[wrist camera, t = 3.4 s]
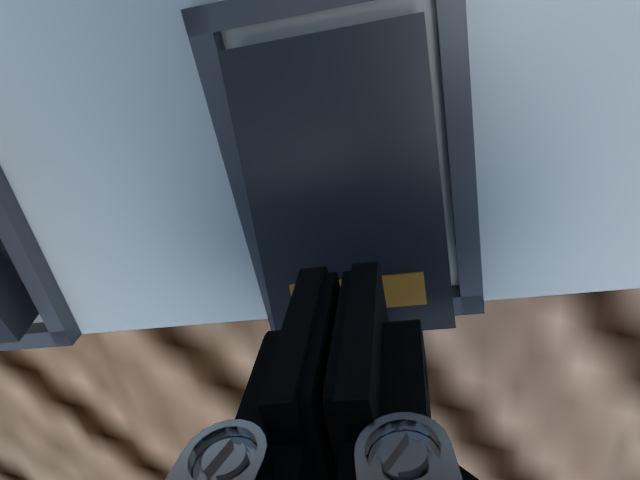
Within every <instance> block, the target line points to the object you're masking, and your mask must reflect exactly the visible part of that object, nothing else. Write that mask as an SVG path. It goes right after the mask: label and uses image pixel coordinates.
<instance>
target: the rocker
mask: <svg viewBox="0 0 640 480" xmlns="http://www.w3.org/2000/svg"><path fill="white" fill-rule="evenodd" d="M38 315H39V312H38V310H37V308H36V306H35V305H34V303H33V301H32V299H31V297H30V295H29V293H28V291H27V289H26V287H25V285H24V284H23V282H22V281H21V279H20V278H19V277H18V275H17V274H16V273H15V271H14V270H13V269H12V267H11V266H10V264H9V263H8V262H7V260H6V259H5V258H4V256H3V255H2V253H1V252H0V343H11V342H19V341H20V340H21V339H22V337H23V336H24V334H25V333H26V331H27V330H28V329H29V327H30V326H31V324H32V323H33V322H34V320H35V319H36V317H37V316H38Z"/></svg>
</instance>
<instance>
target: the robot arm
mask: <svg viewBox="0 0 640 480" xmlns="http://www.w3.org/2000/svg"><path fill="white" fill-rule="evenodd" d="M165 480H479V479H477V478H476V477H474V476H473V475H472V474H470V473H469V472H468V471H466V470H465V469H463V468H462V467H461V466H459V465H458V463H457V459H456V456H455V453H454V450H453V446H452V443H451V440H450V438H449V437H448V435H447V433H446V431H445V429H444V428H442V427H441V426H440V425H439V424H438V423H437V422H436V421H435V420H433V419H431V411H430V398H429V386H428V375H427V365H426V356H425V348H424V340H423V332H422V325H421V319H416V320H403V321H390V322H389V319H388V313H387V306H386V300H385V294H384V288H383V281H382V275H381V269H380V264H379V261H372V262H362V263H353V264H352V269H351V270H350V271H343V275H342V281H341V287H340V283H339V278H338V274H337V272H329V271H328V269H327V267H326V266H322V267H313V268H303V269H300V271H299V274H298V277H297V280H296V283H295V286H294V289H293V293H292V296H291V299H290V302H289V305H288V309H287V312H286V315H285V318H284V321H283V324H282V328H281V330H274V331H268V332H267V333H266V334H265V336H264V339H263V341H262V344H261V347H260V350H259V353H258V356H257V358H256V361H255V364H254V367H253V370H252V373H251V375H250V378H249V381H248V384H247V387H246V390H245V392H244V395H243V398H242V401H241V404H240V407H239V409H238V412H237V415H236V418H235V420H226V421H222V422H219V423H215V424H213V425H211V426H209V427H208V428H206V429H204V430H202V431H201V432H200V433H198V434H197V435H196V436H195V437H194V438H192V439H191V441H190V442H189V443H188V444H187V446H186V447H185V448H184V449H183V451H182V453H181V454H180V456H179V458H178V459H177V461H176V463H175V464H174V466H173V468H172V469H171V471H170V473H169V474H168V476H167V478H166V479H165Z"/></svg>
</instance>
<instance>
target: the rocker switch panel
mask: <svg viewBox="0 0 640 480" xmlns="http://www.w3.org/2000/svg"><path fill="white" fill-rule="evenodd" d="M419 12H424V14H425V24H426V34H427V44H428V54H429V64H430V74H431V84H432V94H433V104H434V114H435V124H436V134H437V144H438V155H439V165H440V175H441V185H442V195H443V205H444V215H445V225H446V235H447V245H448V255H449V265H450V275H451V285H452V295H453V305H454V315H455V316H456V315H469V314H482V313H484V301H488V300H500V299H512V298H524V297H536V296H548V295H560V294H573V293H585V292H597V291H609V290H621V289H633V288H640V0H0V252H1V253H2V255H3V256H4V258H5V259H6V260H7V262H8V263H9V264H10V266H11V267H12V269H13V270H14V271H15V273H16V274H17V275H18V277H19V278H20V279H21V281H22V282H23V284H24V285H25V287H26V289H27V291H28V293H29V295H30V297H31V299H32V301H33V303H34V305H35V306H36V308H37V310H38V312H39V315H38V316H37V317H36V319H35V320H34V322H33V323H32V324H31V326H30V327H29V329H28V330H27V331H26V333H25V334H24V336H23V337H22V339H21V340H20V341H19V342H11V343H0V351H6V350H19V349H32V348H45V347H58V346H70V345H73V344H74V343H75V342H76V340H77V339H78V338H79V337H80V336H81V334H87V333H99V332H111V331H124V330H136V329H148V328H160V327H172V326H184V325H196V324H209V323H221V322H233V321H245V320H257V319H268V320H269V324H270V328H271V330H275V327H274V322H273V317H272V313H271V308H270V303H269V298H268V293H267V289H266V284H265V279H264V274H263V269H262V264H261V260H260V255H259V250H258V245H257V240H256V236H255V231H254V226H253V221H252V216H251V211H250V207H249V202H248V197H247V192H246V187H245V183H244V178H243V173H242V168H241V163H240V158H239V154H238V149H237V144H236V139H235V134H234V130H233V125H232V120H231V115H230V110H229V105H228V101H227V96H226V91H225V86H224V81H223V77H222V72H221V67H220V62H219V57H218V52H217V51H221V50H226V49H232V48H237V47H242V46H247V45H252V44H258V43H263V42H268V41H273V40H278V39H284V38H289V37H294V36H299V35H304V34H310V33H315V32H320V31H325V30H331V29H336V28H341V27H346V26H351V25H357V24H362V23H367V22H372V21H377V20H383V19H388V18H393V17H398V16H404V15H409V14H414V13H419Z"/></svg>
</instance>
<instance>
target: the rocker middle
mask: <svg viewBox="0 0 640 480" xmlns="http://www.w3.org/2000/svg"><path fill="white" fill-rule="evenodd" d="M217 52H218V57H219V62H220V67H221V72H222V77H223V81H224V86H225V91H226V96H227V101H228V105H229V110H230V115H231V120H232V125H233V130H234V134H235V139H236V144H237V149H238V154H239V158H240V163H241V168H242V173H243V178H244V183H245V187H246V192H247V197H248V202H249V207H250V211H251V216H252V221H253V226H254V231H255V236H256V240H257V245H258V250H259V255H260V260H261V264H262V269H263V274H264V279H265V284H266V289H267V293H268V298H269V303H270V308H271V313H272V317H273V322H274V327H275V330H281V328H282V324H283V321H284V318H285V315H286V312H287V309H288V305H289V302H290V299H291V296H292V293H293V289H294V286H295V283H296V280H297V277H298V274H299V271H300V269H303V268H313V267H322V266H326V267H327V269H328V271H329V272H337V274H338V278H339V283H340V287H341V281H342V275H343V271H350V270H351V269H352V264H353V263H362V262H372V261H379V264H380V269H381V275H382V281H383V288H384V294H385V300H386V306H387V313H388V319H389V322H390V321H403V320H416V319H421V325H422V330H434V329H448V328H456V325H455V315H454V305H453V295H452V285H451V275H450V265H449V255H448V245H447V235H446V225H445V215H444V205H443V195H442V185H441V175H440V165H439V155H438V144H437V134H436V124H435V114H434V104H433V94H432V84H431V74H430V64H429V54H428V44H427V34H426V24H425V14H424V12H419V13H414V14H409V15H404V16H398V17H393V18H388V19H383V20H377V21H372V22H367V23H362V24H357V25H351V26H346V27H341V28H336V29H331V30H325V31H320V32H315V33H310V34H304V35H299V36H294V37H289V38H284V39H278V40H273V41H268V42H263V43H258V44H252V45H247V46H242V47H237V48H232V49H226V50H221V51H217Z"/></svg>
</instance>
